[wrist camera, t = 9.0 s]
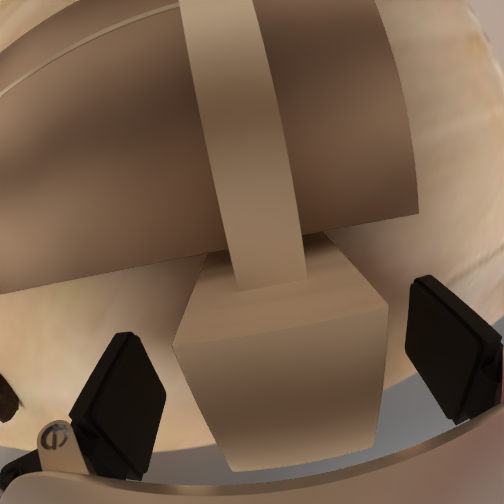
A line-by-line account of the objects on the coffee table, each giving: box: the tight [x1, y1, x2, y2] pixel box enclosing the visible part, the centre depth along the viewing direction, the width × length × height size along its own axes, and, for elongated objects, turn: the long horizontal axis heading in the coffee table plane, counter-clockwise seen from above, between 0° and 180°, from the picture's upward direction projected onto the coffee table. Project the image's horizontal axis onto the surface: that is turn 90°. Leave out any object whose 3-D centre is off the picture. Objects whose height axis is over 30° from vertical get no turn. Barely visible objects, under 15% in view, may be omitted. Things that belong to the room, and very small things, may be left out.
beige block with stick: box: [172, 0, 389, 472], centre depth 9 cm, size 17×5×7 cm, turn 11°
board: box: [0, 0, 419, 294], centre depth 10 cm, size 12×26×3 cm, turn 101°
